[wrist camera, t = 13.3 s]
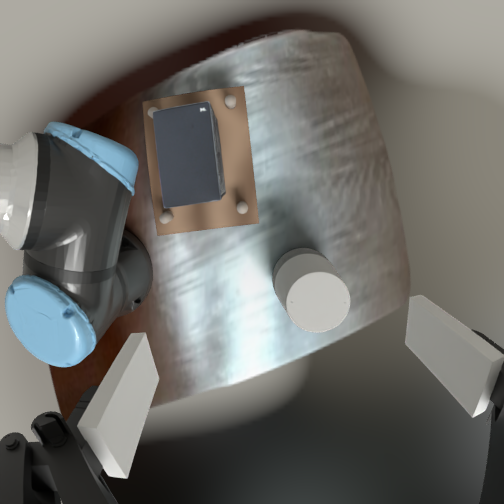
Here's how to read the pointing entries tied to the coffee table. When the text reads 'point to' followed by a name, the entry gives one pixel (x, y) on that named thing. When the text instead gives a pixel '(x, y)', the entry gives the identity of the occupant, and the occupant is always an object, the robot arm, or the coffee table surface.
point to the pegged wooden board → (233, 157)
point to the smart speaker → (310, 290)
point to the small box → (189, 155)
